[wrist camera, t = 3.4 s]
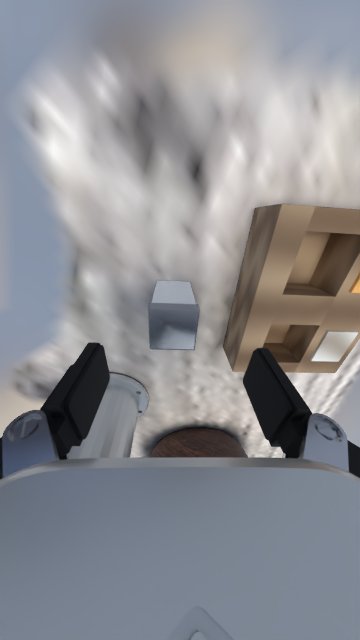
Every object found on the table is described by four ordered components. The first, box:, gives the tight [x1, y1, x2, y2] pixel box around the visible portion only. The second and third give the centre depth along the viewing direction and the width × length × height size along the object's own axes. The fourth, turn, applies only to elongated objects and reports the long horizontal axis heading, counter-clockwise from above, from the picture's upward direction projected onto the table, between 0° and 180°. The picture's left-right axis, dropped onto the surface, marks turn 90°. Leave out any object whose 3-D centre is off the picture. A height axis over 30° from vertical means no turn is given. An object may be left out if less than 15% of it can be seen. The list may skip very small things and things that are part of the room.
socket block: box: [223, 204, 360, 373], centre depth 20 cm, size 18×14×5 cm
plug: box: [148, 280, 200, 350], centre depth 19 cm, size 4×4×8 cm
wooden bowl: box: [149, 428, 248, 458], centre depth 38 cm, size 25×25×10 cm
